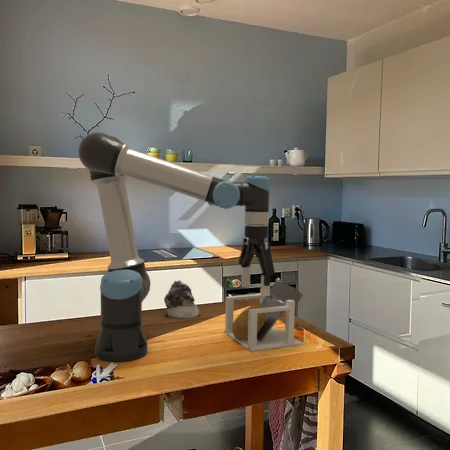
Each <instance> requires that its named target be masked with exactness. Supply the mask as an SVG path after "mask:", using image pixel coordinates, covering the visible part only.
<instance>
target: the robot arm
mask: <svg viewBox="0 0 450 450" xmlns="http://www.w3.org/2000/svg"><path fill="white" fill-rule="evenodd" d="M78 157H79V160H80V162H81V165H83V166H84V167H85V168H86V169H87V170H89V176H90V181H91V183H92V184H94V185H96V187H97V191H98V197H99V202H100V208H101V212H102V219H103V224H104V228H105V235H106V241H107V246H108V251H109V252H108V253H109V256H110V263H108V266H107V273H105V274H103V275H102V277H101V279H100V284H99V285H100V286H99V290H100V330H99V332H98V335H97V339H96V342H95V344H94V345H95V346H94V356H95V357H96V358H97V359H100V360H103V361H106V362H107V361H108V362H127V361H132V360H138V359H140V358H142V357H144V356H146V355H147V354H148V347H149V346H148V341H147V337H146V335H145V332H144V329H143V326H142V325H143V323H142V322H143V321H142V319H143V318H142V316H143V314H142V313H143V312H142V311H143V310H142V307H143V306H142V304H143V301H144V300H145V299H146V298H147V296H148V295H149V293H150V291H151V279H150V275H149V274H148V272H147V270H146V269H147V268H146V265H145V264H146V263H145V260H144V259H143V258H141V257H140V256H139V253H138V247H137V242H136V241H137V240H136V235H135V231H134V230H135V229H134V225H133V224H134V223H133V219H132V213H131V208H130V204H129V196H128V191H127V186H126V181H127V180H128V178H131V179H134V180H135V179H136V180H138V181H141V182H145V183H148V184H151V185H154V186H157V187H160V188H163V189H167V190H169V191H172V192H176V193H178V194H181V195H184V196H188V197H191V198H195V199H197V200H200V201H202V202H206V203H207V204H208V205H209V206H215V207H219V208H222V209H225V210H226V209H227V210H228V209H232V208H233V207H244V224H245V225H244V238H243V239H242V240H243V241H242V246H241V247H242V248H241V252H240V255H239V259H238V265H240V267H241V288H250V287H251V263H252V261H253V258H254V256H255V257H256V258H257V260H258V264H259V267H260V270H261V274H260V276H261V277H260V289H261V296H271V295H270V288H271V276H272V275H275V272H276V271H275V267H274V262H273V257H272V252H271V243H270V242H265V239H267V238H268V237H269V226H268V225H269V219H270V214H269V212H270V191H271V190H270V178H269V177H268V176H265V175H263V176H262V175H247V176H246V177H245V180H244V181H241V182H238V181H237V182H236V181H235V182H234V181H230V180H229V181H228V180H225V179H221V178H219V177H215V176H212V175H209V174H207V173H204V172H200V171H198V170H194V169H191V168H188V167H185V166H184V165H180V164H176V163H174V162H170V161H167V160H164V159H161V158H159V157H156V156H152V155H149V154H147V153H143V152H140V151H137V150H136V149H135V150H134V149H131V148H130V147H129V145H128V144H127V143H124V142H122V141H121V140H120V139H118V138H117V137H115V136H112V135H109V134H107V133H104V132H93V133H92V132H91V133H89V134H88V135H86V136H85V137H84V138H83V139H82V140H81V141H80V142H79V145H78Z"/></svg>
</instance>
